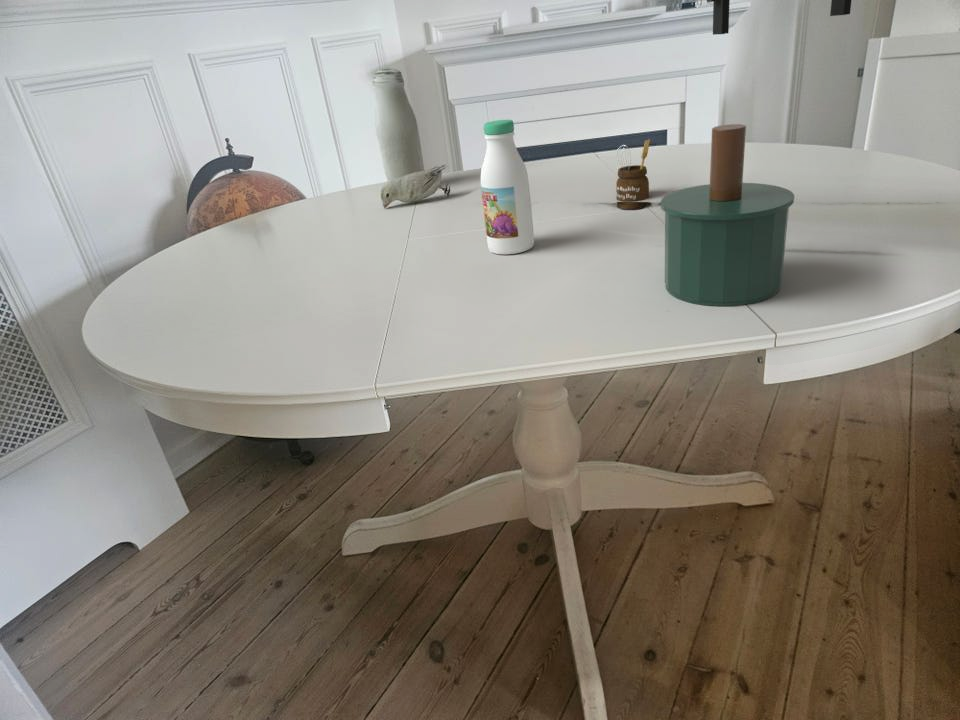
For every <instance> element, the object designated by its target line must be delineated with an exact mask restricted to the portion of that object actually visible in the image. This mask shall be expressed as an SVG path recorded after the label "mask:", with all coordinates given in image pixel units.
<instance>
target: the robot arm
mask: <svg viewBox="0 0 960 720" xmlns="http://www.w3.org/2000/svg"><path fill="white" fill-rule="evenodd" d="M712 2H713V10H712V35H713V36H714V35H727V34H729V30H730V28H729V27H730V4H731V3H730V0H706V3H712ZM830 3H831V4H830V12H829V13H830V14H829V17H835V16H837V17H838V16H847V15H850V14H851V8H852V0H831V2H830Z"/></svg>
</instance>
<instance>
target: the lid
mask: <svg viewBox="0 0 960 720" xmlns="http://www.w3.org/2000/svg"><path fill="white" fill-rule="evenodd" d="M746 134H747V125H746V124H740V123H736V124H735V123H733V124H731V123H730V124H723V125H722V124H721V125H717V126H713V127H712V128H711V144H710V145H711V147H710V148H711V149H710V167H709V169H710V170H709V172H710V173H709V184H702V185H696V186H689V187H685V188H681V189H678V190H675V191H672V192H670V193H668V194H666V195H664V197H662V198H661V200H660V209H661V210H662V211H663V212H664V213H665V212H666V213H668V214H671V215H674V216H678V217H683V218H689V219H699V220H735V219H746V218H754V217H760V216H765V215H769V214H773V213H777V212H780V211H782V210H785V209H787V208H788V207H789V208H790V207H792V206H793V204H794V202H795V194H794V192H792V191H791V190H790V189H788V188H785V187H783V186H779V185H773V184H768V183H767V184H766V183H757V182H756V183H755V182H743V181H744V166H745V152H746V147H745V146H746Z"/></svg>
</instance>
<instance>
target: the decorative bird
mask: <svg viewBox="0 0 960 720" xmlns="http://www.w3.org/2000/svg"><path fill="white" fill-rule="evenodd" d="M447 167H448V163H447V162H446V163H444V164H443V163H442V164H440V165H435V166H433V167H430V168H428V169H424V171H420V172H415V173H411V174H408V175H405V176H402V177H400V178H394V179H391V180H389V181H388V180H386V181H385V182H384V184H383V185H382V187H381V190H380V199H381V203H382V207H383V209H386V208H387V207H389V205H390V204H392V203H393V202H396V201H399V202H401V203H406V204H407V203H415V202H419V201H422V200H424V199H427V198H429V197H430V196H433V195H434V194H436V192H437V191H438V189H441V190H442V191H444V192H443V193H444V194H445V195H446V196H447V198H449V196H450V193H451V186H452V184H450V185H449V183H446V186H445V187H442V186H441V180H442V175H443V172H442V171H443V170H445V169H447ZM448 185H449V186H448Z"/></svg>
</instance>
